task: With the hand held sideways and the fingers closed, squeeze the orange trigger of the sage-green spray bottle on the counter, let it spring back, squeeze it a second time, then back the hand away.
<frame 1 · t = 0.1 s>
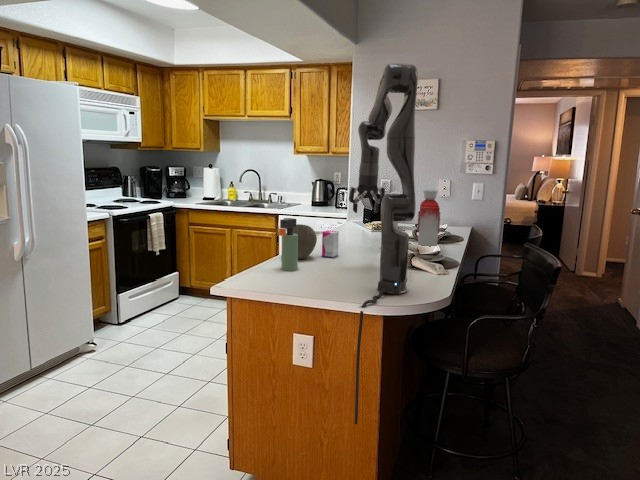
hand: (365, 212, 198), 22 cm above the table, tool pointing down, fingers open, 8 cm apart
trigger: (282, 232, 188), point 16 cm above the table, slide at 0.0 cm
supplement box: (330, 256, 219), on the table
spray bottle: (289, 269, 195), on the table
skyscraper: (389, 249, 239), on the table
bottle: (426, 252, 233), on the table
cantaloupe: (300, 258, 214), on the table
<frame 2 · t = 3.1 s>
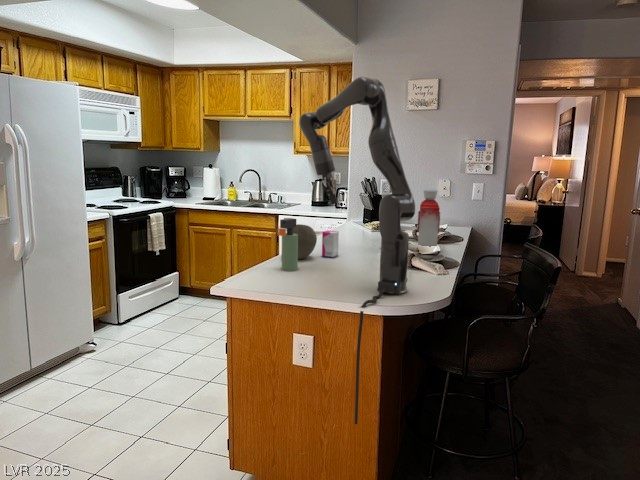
hand: (334, 203, 196), 26 cm above the table, tool tilted 15°, fingers closed
nothing on the table moved.
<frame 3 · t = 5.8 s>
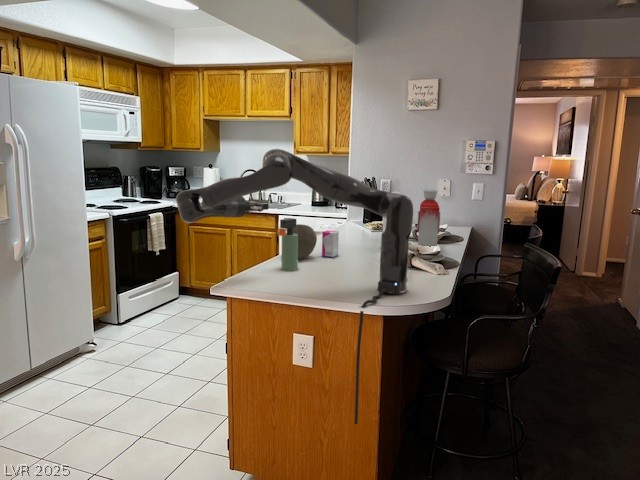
hand: (267, 206, 181), 26 cm above the table, tool horizontal, fingers closed
nothing on the table moved.
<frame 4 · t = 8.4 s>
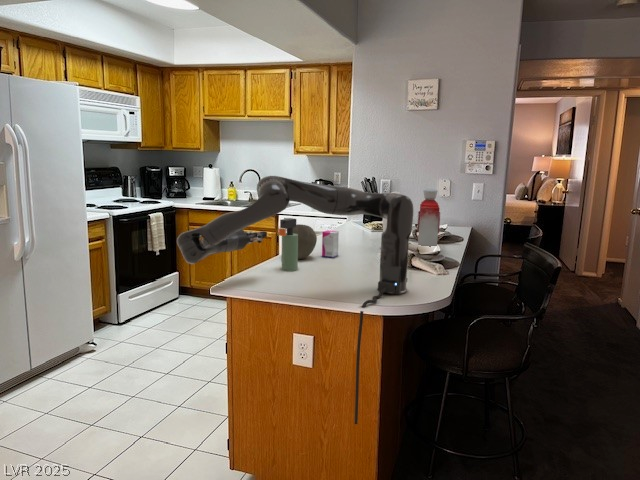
hand: (265, 234, 181), 16 cm above the table, tool horizontal, fingers closed
nothing on the table moved.
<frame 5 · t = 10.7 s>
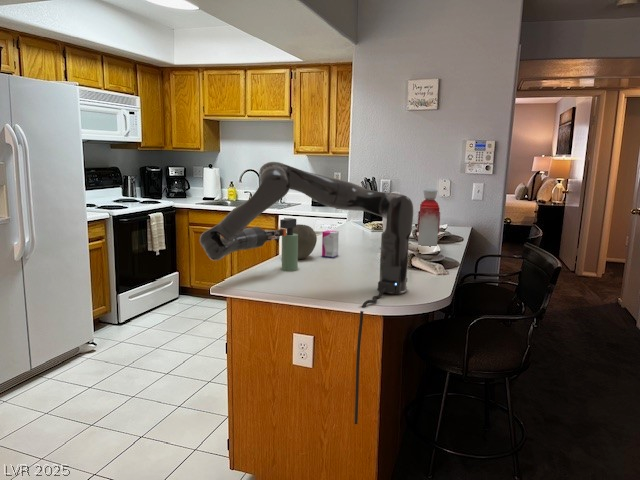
hand: (281, 232, 188), 15 cm above the table, tool horizontal, fingers closed
trigger: (282, 232, 188), point 15 cm above the table, slide at 0.2 cm, touching gripper
everything else where it was.
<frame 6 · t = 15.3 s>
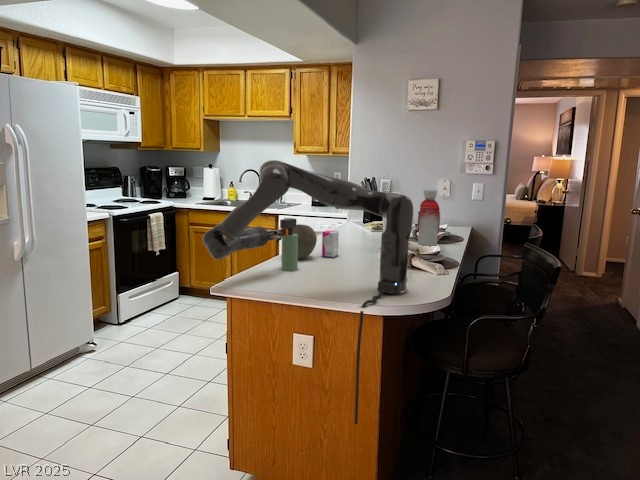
hand: (283, 232, 189), 15 cm above the table, tool horizontal, fingers closed
trigger: (284, 231, 189), point 16 cm above the table, slide at 1.4 cm, touching gripper
everything else where it was.
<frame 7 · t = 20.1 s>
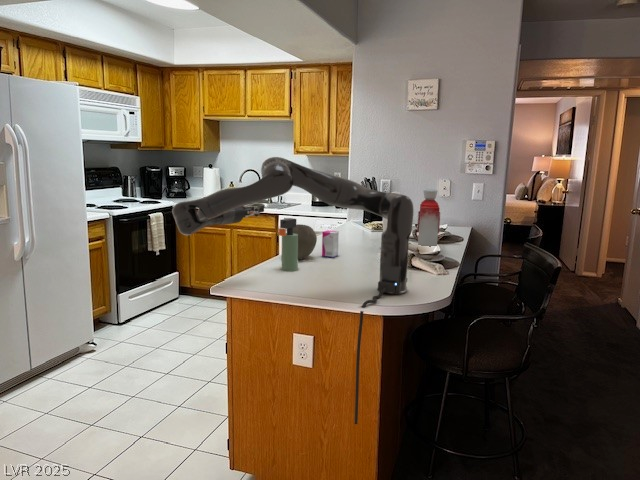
hand: (262, 208, 178), 26 cm above the table, tool horizontal, fingers closed
trigger: (282, 232, 188), point 15 cm above the table, slide at 0.0 cm
everything else where it was.
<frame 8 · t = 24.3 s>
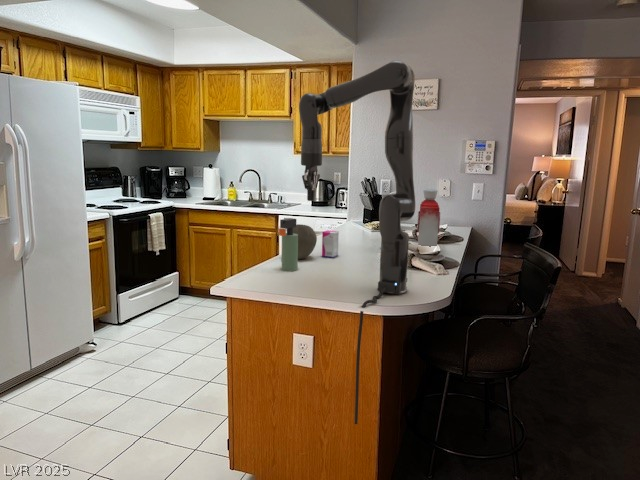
hand: (310, 200, 176), 29 cm above the table, tool pointing down, fingers closed
nothing on the table moved.
at the end: trigger pulled out 1.5 cm at the most during the clip and back in by the end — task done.
